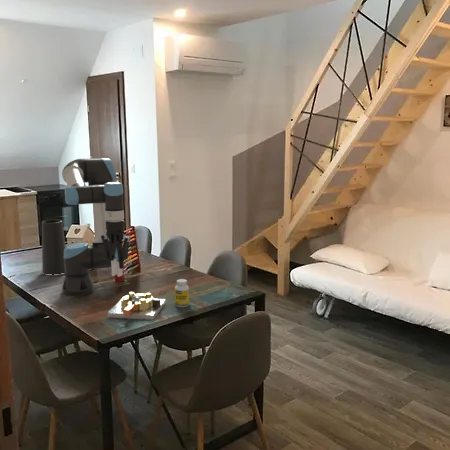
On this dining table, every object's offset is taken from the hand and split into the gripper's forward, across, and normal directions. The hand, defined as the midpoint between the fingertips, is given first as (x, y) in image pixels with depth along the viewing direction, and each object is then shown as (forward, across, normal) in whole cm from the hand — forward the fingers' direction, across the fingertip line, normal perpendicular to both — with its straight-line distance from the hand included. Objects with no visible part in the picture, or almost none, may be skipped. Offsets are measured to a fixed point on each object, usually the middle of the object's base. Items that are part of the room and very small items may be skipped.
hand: (117, 275), depth 215 cm
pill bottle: (+19, +18, +24) cm, 35 cm away
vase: (+19, -71, +42) cm, 84 cm away
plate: (+18, +3, +10) cm, 21 cm away
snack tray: (+16, +4, +7) cm, 18 cm away
